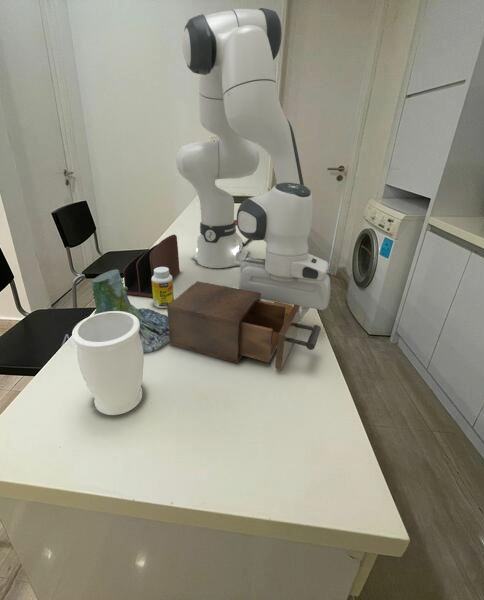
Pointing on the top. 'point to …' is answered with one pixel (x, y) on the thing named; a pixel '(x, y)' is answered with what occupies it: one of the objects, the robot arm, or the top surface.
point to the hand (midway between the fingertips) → (279, 317)
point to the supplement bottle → (162, 287)
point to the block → (288, 309)
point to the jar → (111, 360)
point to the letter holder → (151, 266)
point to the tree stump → (130, 310)
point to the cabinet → (210, 319)
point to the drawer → (272, 332)
